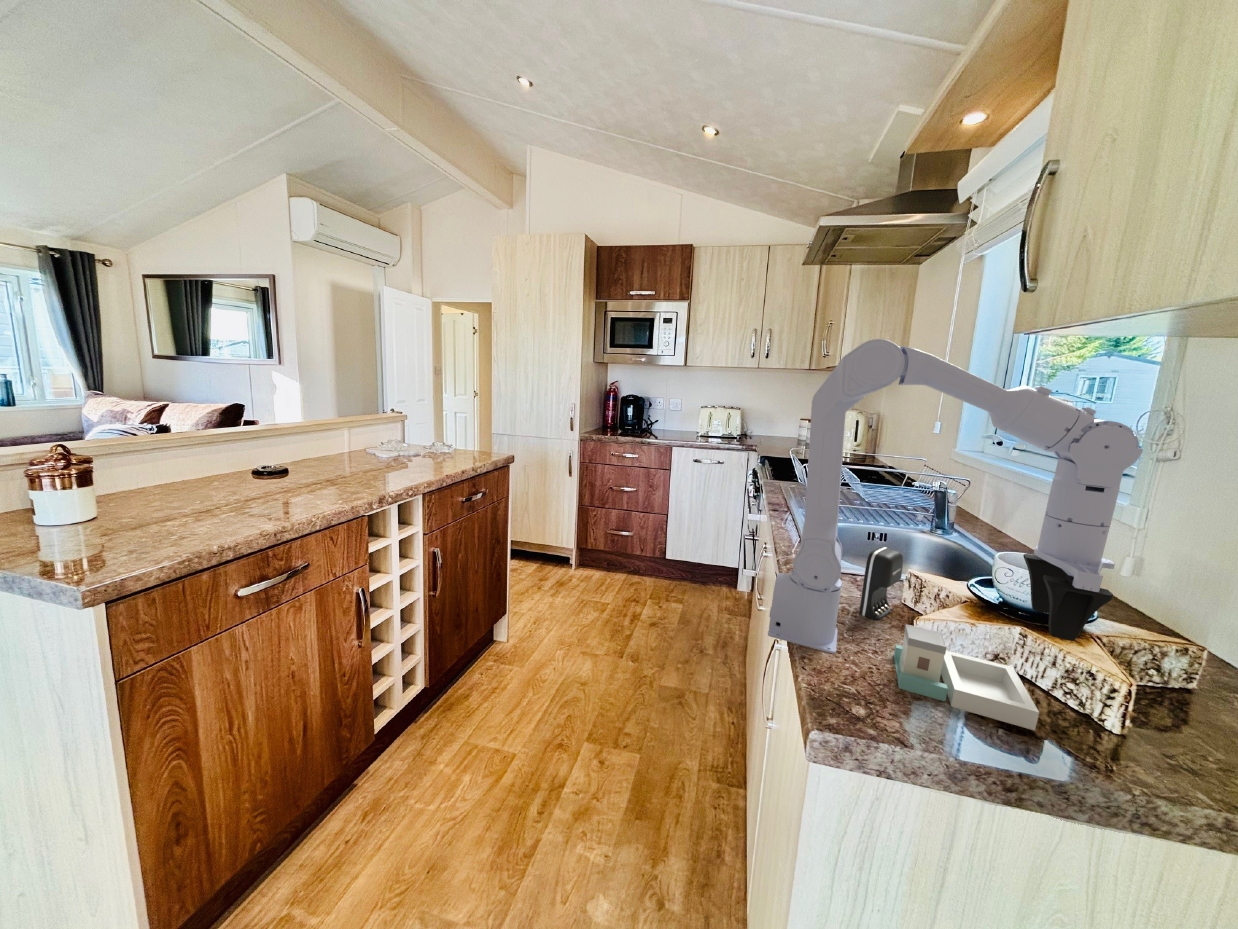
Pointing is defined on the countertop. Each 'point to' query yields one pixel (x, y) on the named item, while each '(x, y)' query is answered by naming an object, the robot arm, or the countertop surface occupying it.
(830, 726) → the countertop surface
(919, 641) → the block
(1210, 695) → the countertop surface
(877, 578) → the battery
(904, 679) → the holder
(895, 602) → the countertop surface
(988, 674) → the tray
